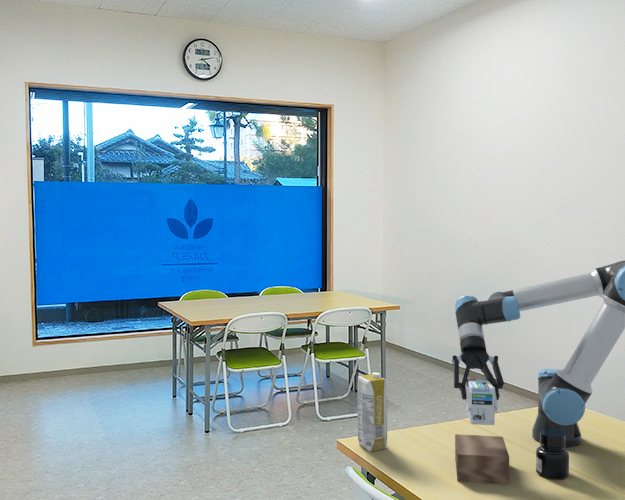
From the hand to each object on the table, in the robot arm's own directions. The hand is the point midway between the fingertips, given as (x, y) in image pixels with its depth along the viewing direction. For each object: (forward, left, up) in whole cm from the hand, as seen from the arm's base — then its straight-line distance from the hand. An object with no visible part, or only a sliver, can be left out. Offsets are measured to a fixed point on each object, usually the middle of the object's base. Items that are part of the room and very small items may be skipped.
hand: (482, 409), depth 175 cm
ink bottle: (-20, -2, -20) cm, 28 cm away
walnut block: (0, -3, -20) cm, 20 cm away
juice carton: (+31, -21, -20) cm, 42 cm away
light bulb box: (0, -4, -4) cm, 6 cm away
